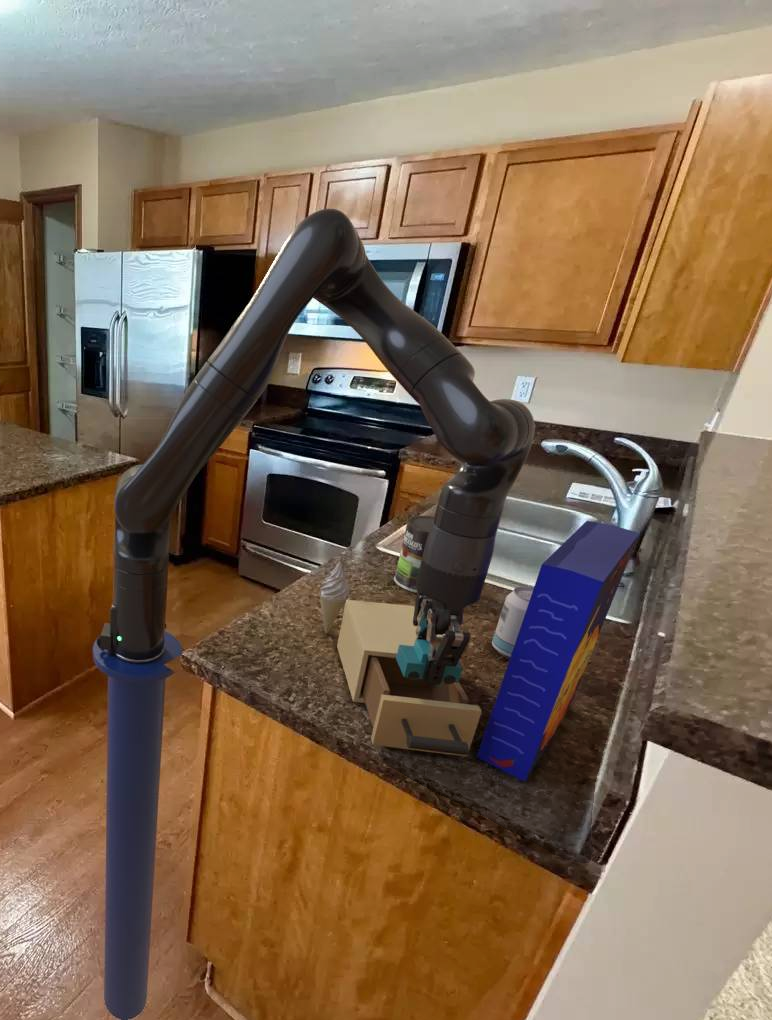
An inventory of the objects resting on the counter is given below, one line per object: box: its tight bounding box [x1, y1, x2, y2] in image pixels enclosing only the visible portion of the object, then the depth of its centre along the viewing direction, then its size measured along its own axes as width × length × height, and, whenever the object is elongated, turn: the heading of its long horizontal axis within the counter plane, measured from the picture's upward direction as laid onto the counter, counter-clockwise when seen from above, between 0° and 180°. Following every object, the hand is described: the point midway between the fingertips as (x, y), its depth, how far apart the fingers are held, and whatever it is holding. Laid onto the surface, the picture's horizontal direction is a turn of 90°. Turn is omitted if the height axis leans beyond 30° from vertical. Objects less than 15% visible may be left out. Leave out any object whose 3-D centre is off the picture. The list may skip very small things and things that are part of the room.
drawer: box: [361, 655, 483, 758], centre depth 85 cm, size 20×12×8 cm, turn 171°
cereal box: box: [476, 520, 641, 783], centre depth 81 cm, size 22×6×30 cm, turn 133°
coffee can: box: [393, 515, 434, 594], centre depth 127 cm, size 10×10×14 cm
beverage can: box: [491, 586, 534, 660], centre depth 104 cm, size 7×7×12 cm
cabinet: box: [336, 599, 462, 704], centre depth 97 cm, size 16×14×10 cm
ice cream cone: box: [318, 560, 351, 634], centre depth 108 cm, size 5×5×15 cm
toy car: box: [396, 639, 463, 684], centre depth 82 cm, size 4×7×4 cm, turn 81°
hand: (425, 670), depth 82 cm, fingers closed on toy car, 4 cm apart
